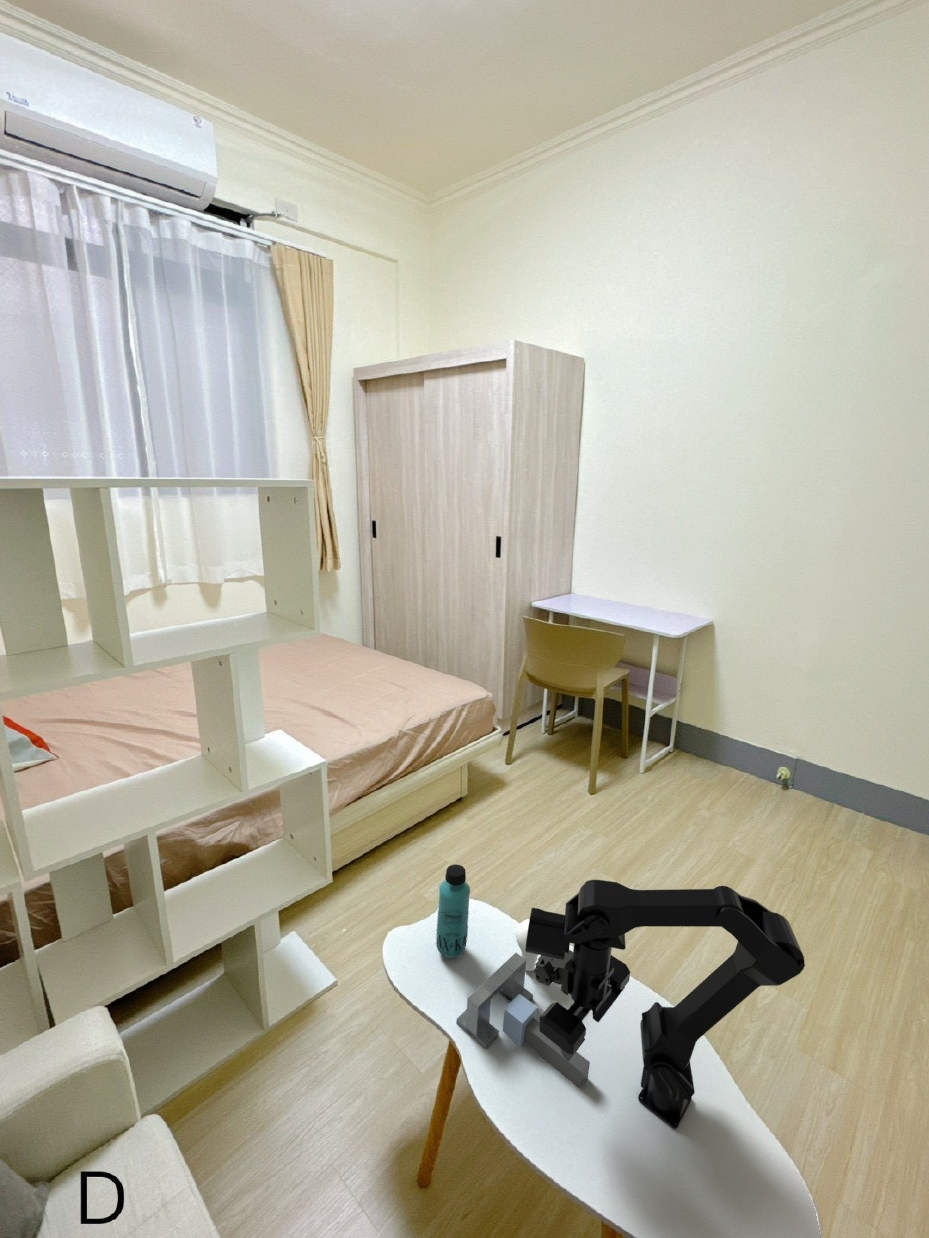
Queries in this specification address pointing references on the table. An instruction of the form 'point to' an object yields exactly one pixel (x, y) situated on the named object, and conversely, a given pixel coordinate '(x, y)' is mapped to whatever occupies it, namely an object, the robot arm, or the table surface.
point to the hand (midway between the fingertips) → (581, 1038)
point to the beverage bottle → (453, 912)
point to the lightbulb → (521, 940)
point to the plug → (541, 1040)
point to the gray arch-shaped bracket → (479, 1002)
